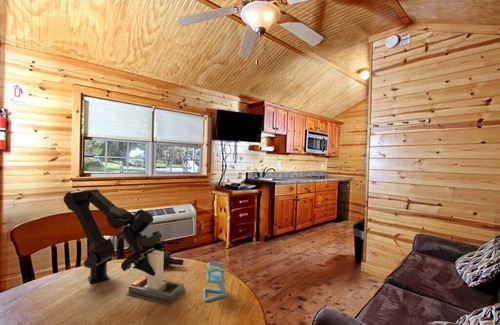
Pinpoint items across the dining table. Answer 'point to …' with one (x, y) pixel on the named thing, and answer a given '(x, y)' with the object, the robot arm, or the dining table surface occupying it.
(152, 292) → the grey tray
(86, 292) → the dining table surface
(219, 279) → the chair
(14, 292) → the dining table surface
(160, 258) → the slider
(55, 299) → the dining table surface
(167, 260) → the black angular piece
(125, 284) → the dining table surface
